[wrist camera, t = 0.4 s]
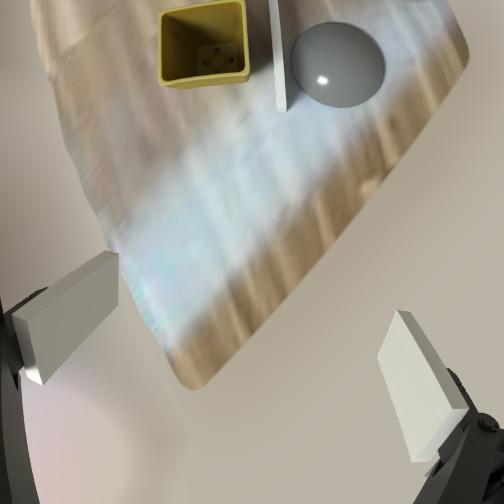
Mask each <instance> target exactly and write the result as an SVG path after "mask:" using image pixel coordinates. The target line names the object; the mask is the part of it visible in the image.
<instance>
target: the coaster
mask: <svg viewBox="0 0 504 504" xmlns="http://www.w3.org/2000/svg"><path fill="white" fill-rule="evenodd" d="M291 65H292V71H293V74H294V77H295V79H296V81H297V82H298V84H299V86H300V87H301V88H302V89H303V91H304V92H306V93H307V94H308V95H309V96H310V97H311V98H313V99H314V100H316V101H318V102H320V103H322V104H325V105H328V106H332V107H338V108H347V107H353V106H356V105H359V104H361V103H364V102H365V101H367V100H368V99H370V98H371V97H372V96H373V95H374V94H375V93H376V92H377V90H378V89H379V87H380V85H381V82H382V79H383V72H384V70H383V62H382V58H381V55H380V53H379V51H378V49H377V48H376V46H375V45H374V43H373V42H372V41H371V40H370V39H369V38H368V37H367V36H366V35H364V34H363V33H362V32H360V31H358V30H357V29H355V28H352V27H350V26H347V25H343V24H337V23H327V24H321V25H317V26H315V27H312V28H310V29H309V30H307V31H306V32H304V33H303V34H302V35H301V36H300V37H299V39H298V40H297V42H296V43H295V46H294V48H293V51H292V58H291Z"/></svg>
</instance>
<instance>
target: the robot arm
mask: <svg viewBox="0 0 504 504" xmlns="http://www.w3.org/2000/svg"><path fill="white" fill-rule="evenodd" d="M118 261H119V254H118V253H114V252H110V251H106V250H105V251H103V252H102V253H100V254H99V255H97V256H96V257H94V258H92V259H91V260H89V261H88V262H86V263H85V264H84V265H82V266H80V267H79V268H77V269H76V270H74V271H73V272H71V273H70V274H68V275H67V276H65V277H64V278H62V279H61V280H59V281H58V282H56V283H55V284H53V285H52V286H51V287H46V288H43V289H40V290H37V291H35V292H34V293H33V294H31V295H30V296H29V297H27V298H25V299H24V300H23V301H22V302H20V303H18V304H17V305H15V306H14V307H13V308H11V309H10V310H9V311H7V312H6V313H4V314H3V309H2V304H1V299H0V504H40V502H39V498H38V494H37V490H36V486H35V482H34V478H33V473H32V468H31V463H30V458H29V452H28V446H27V439H26V432H25V425H24V416H23V406H22V393H21V378H20V375H19V370H20V369H21V368H22V367H23V366H24V367H25V370H26V374H27V377H28V378H29V379H31V380H33V381H35V382H37V383H39V384H41V385H44V384H45V383H46V382H47V380H48V379H49V378H50V377H51V376H52V375H53V374H54V372H55V371H56V370H57V369H58V368H59V367H60V366H61V365H62V364H63V363H64V361H65V360H66V359H67V358H68V357H69V356H70V355H71V354H72V353H73V352H74V351H75V350H76V349H77V347H78V346H79V345H80V344H81V343H82V342H83V341H84V340H85V339H86V338H87V337H88V336H89V335H90V334H91V333H92V332H93V330H94V329H95V328H96V327H97V326H98V325H99V324H100V323H101V322H102V321H103V320H104V319H105V318H106V317H107V316H108V315H109V314H110V313H111V312H112V311H113V310H114V309H115V307H117V306H118ZM377 359H378V362H379V365H380V368H381V370H382V373H383V376H384V379H385V382H386V384H387V387H388V390H389V393H390V396H391V398H392V402H393V405H394V407H395V410H396V414H397V417H398V420H399V423H400V426H401V429H402V432H403V435H404V438H405V442H406V445H407V448H408V451H409V455H410V458H411V461H412V462H424V461H429V460H430V459H431V458H432V457H433V456H434V454H435V453H436V452H437V451H438V453H439V456H440V459H439V460H438V462H437V463H436V464H435V465H434V466H433V467H432V468H431V469H430V470H429V471H428V472H427V473H426V475H425V476H426V477H427V476H428V475H429V474H430V475H429V477H428V479H427V480H426V482H425V484H424V486H423V488H422V489H421V491H420V493H419V494H418V496H417V498H416V499H415V501H414V503H413V504H504V429H500V427H499V424H498V422H497V421H496V420H495V419H494V418H493V417H491V416H490V415H488V414H485V413H479V412H478V411H477V409H476V407H475V405H474V404H473V402H472V400H471V399H470V397H469V395H468V393H467V392H466V390H465V388H464V387H463V386H462V383H461V382H460V380H459V378H458V377H457V375H456V374H455V373H453V372H452V371H451V370H450V369H449V368H446V367H445V366H444V364H443V362H442V360H441V359H440V357H439V356H438V354H437V353H436V351H435V349H434V348H433V346H432V345H431V343H430V341H429V340H428V338H427V337H426V335H425V334H424V332H423V331H422V329H421V327H420V326H419V324H418V323H417V321H416V320H415V319H414V317H413V315H412V314H411V312H406V311H400V310H397V311H396V313H395V316H394V318H393V321H392V323H391V326H390V328H389V330H388V333H387V335H386V338H385V340H384V342H383V345H382V347H381V349H380V351H379V354H378V356H377Z"/></svg>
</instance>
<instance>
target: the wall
mask: <svg viewBox="0 0 504 504" xmlns="http://www.w3.org/2000/svg"><path fill="white" fill-rule="evenodd" d="M268 1H269V11H270V23H271V34H272V47H273V59H274V73H275V87H276V102H277V111H278V112H286V92H285V78H284V65H283V53H282V41H281V30H280V19H279V9H278V0H268Z"/></svg>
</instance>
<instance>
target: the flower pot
mask: <svg viewBox="0 0 504 504" xmlns="http://www.w3.org/2000/svg"><path fill="white" fill-rule="evenodd" d="M216 49H219V50H220V51H219V52H218V53H216V52H215V50H216ZM230 59H233V60H234V61H233V62H232V63H230V62H229V60H230ZM203 62H206V63H207V65H206V66H203ZM217 72H220V73H221V74H216V73H217ZM158 78H159V83H160V85H162V86H167V87H171V88H176V89H190V88H196V87H203V86H212V85H221V84H233V83H245V82H247V81H248V80H249V78H250V62H249V48H248V33H247V16H246V2H245V0H219V1H212V2H205V3H199V4H193V5H187V6H182V7H177V8H172V9H168V10H164V11H162V12H160V13H159V15H158Z"/></svg>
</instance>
